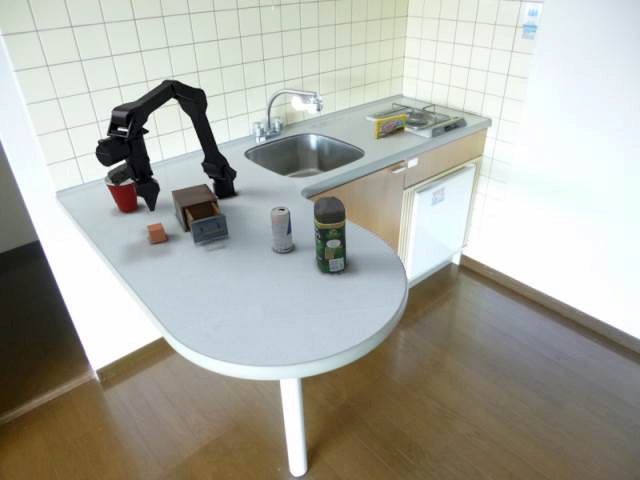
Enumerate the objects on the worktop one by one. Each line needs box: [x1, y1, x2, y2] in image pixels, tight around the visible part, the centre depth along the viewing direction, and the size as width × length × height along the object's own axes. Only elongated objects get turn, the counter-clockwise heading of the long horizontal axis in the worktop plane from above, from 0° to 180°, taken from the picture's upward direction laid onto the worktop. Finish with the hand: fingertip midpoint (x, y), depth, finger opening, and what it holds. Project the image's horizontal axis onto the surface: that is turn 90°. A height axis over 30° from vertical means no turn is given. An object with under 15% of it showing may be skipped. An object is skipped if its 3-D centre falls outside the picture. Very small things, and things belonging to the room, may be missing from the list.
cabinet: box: [170, 183, 220, 232], centre depth 149 cm, size 13×11×8 cm
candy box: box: [373, 113, 407, 140], centre depth 211 cm, size 16×2×8 cm, turn 120°
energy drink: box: [270, 206, 294, 253], centre depth 130 cm, size 5×5×12 cm
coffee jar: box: [313, 196, 347, 274], centre depth 121 cm, size 10×8×19 cm
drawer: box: [184, 202, 229, 245], centre depth 139 cm, size 17×10×7 cm, turn 27°
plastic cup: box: [102, 174, 139, 214], centre depth 156 cm, size 11×11×12 cm
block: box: [146, 222, 167, 245], centre depth 139 cm, size 4×4×4 cm
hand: (149, 204), depth 135 cm, fingers open, 9 cm apart
